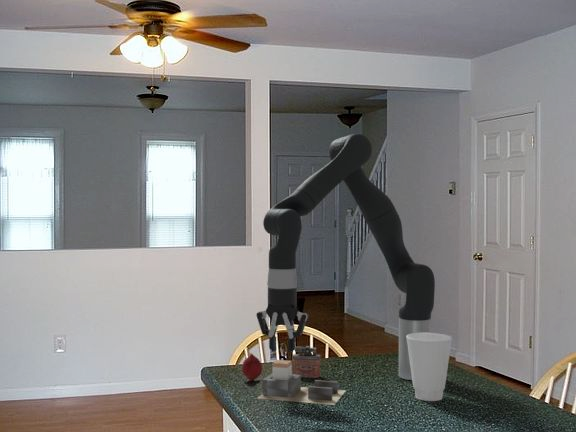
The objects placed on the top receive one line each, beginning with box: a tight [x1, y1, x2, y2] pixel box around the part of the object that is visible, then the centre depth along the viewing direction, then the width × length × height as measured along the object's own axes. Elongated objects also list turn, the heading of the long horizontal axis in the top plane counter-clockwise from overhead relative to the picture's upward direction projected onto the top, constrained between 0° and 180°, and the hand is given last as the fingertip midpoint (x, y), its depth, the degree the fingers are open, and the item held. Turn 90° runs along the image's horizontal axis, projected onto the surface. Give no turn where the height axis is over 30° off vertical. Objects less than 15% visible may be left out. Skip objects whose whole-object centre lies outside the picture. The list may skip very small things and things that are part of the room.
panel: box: [256, 372, 347, 406], centre depth 182 cm, size 20×14×6 cm
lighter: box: [291, 345, 322, 379], centre depth 202 cm, size 8×3×10 cm, turn 84°
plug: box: [272, 359, 293, 381], centre depth 184 cm, size 4×4×8 cm
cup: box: [406, 332, 453, 402], centre depth 185 cm, size 12×12×16 cm
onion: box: [241, 352, 263, 382], centre depth 202 cm, size 6×6×8 cm
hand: (282, 351), depth 184 cm, fingers open, 4 cm apart
